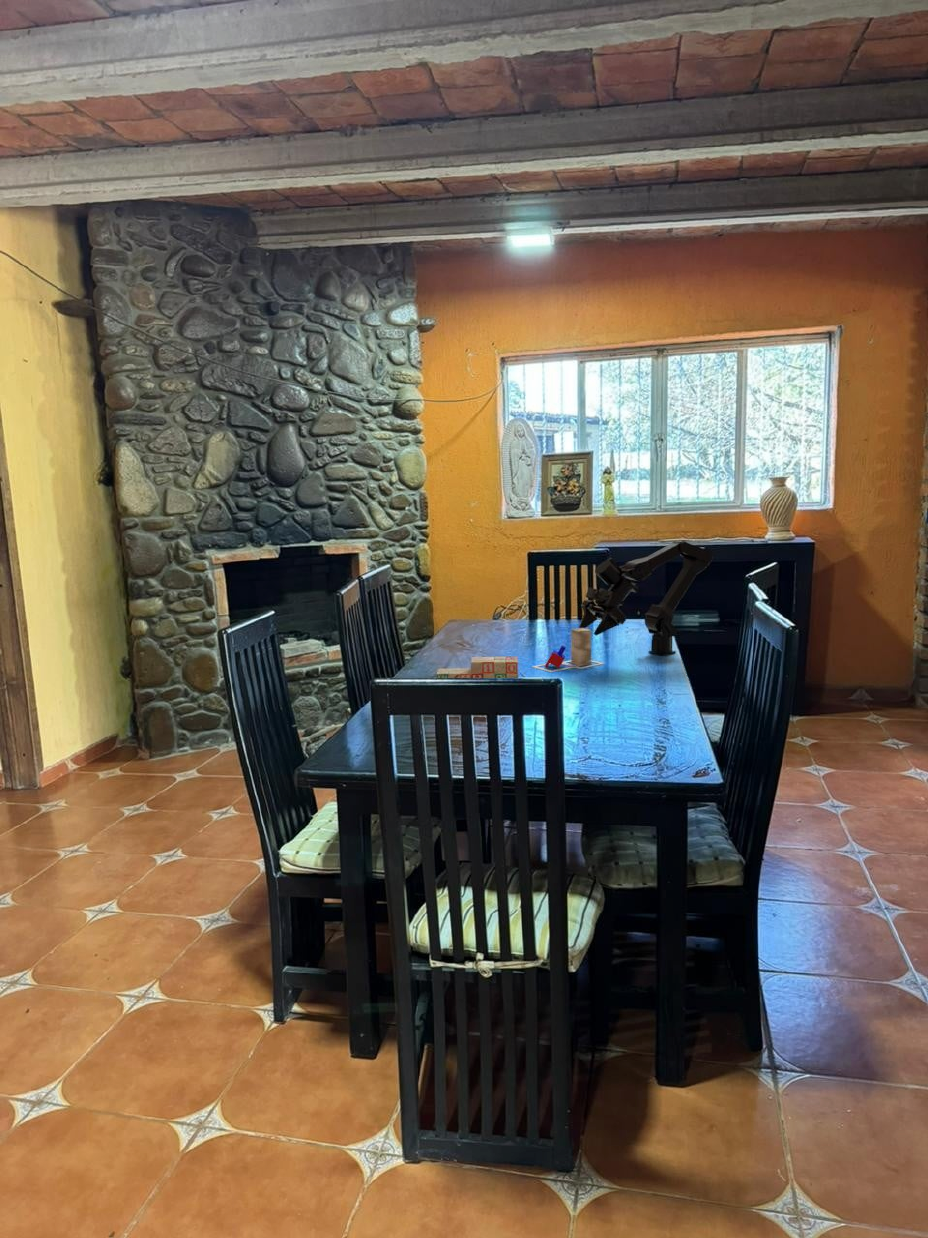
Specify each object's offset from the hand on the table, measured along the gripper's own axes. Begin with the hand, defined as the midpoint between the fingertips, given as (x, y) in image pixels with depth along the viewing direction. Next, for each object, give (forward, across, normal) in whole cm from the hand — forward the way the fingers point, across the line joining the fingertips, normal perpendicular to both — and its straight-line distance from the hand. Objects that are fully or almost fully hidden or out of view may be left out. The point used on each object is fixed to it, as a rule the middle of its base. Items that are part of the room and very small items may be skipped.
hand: (587, 632), depth 255 cm
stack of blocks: (+42, +27, -28) cm, 57 cm away
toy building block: (+15, 0, -1) cm, 15 cm away
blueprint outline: (+12, 0, +2) cm, 12 cm away
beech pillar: (+9, 0, +5) cm, 10 cm away
